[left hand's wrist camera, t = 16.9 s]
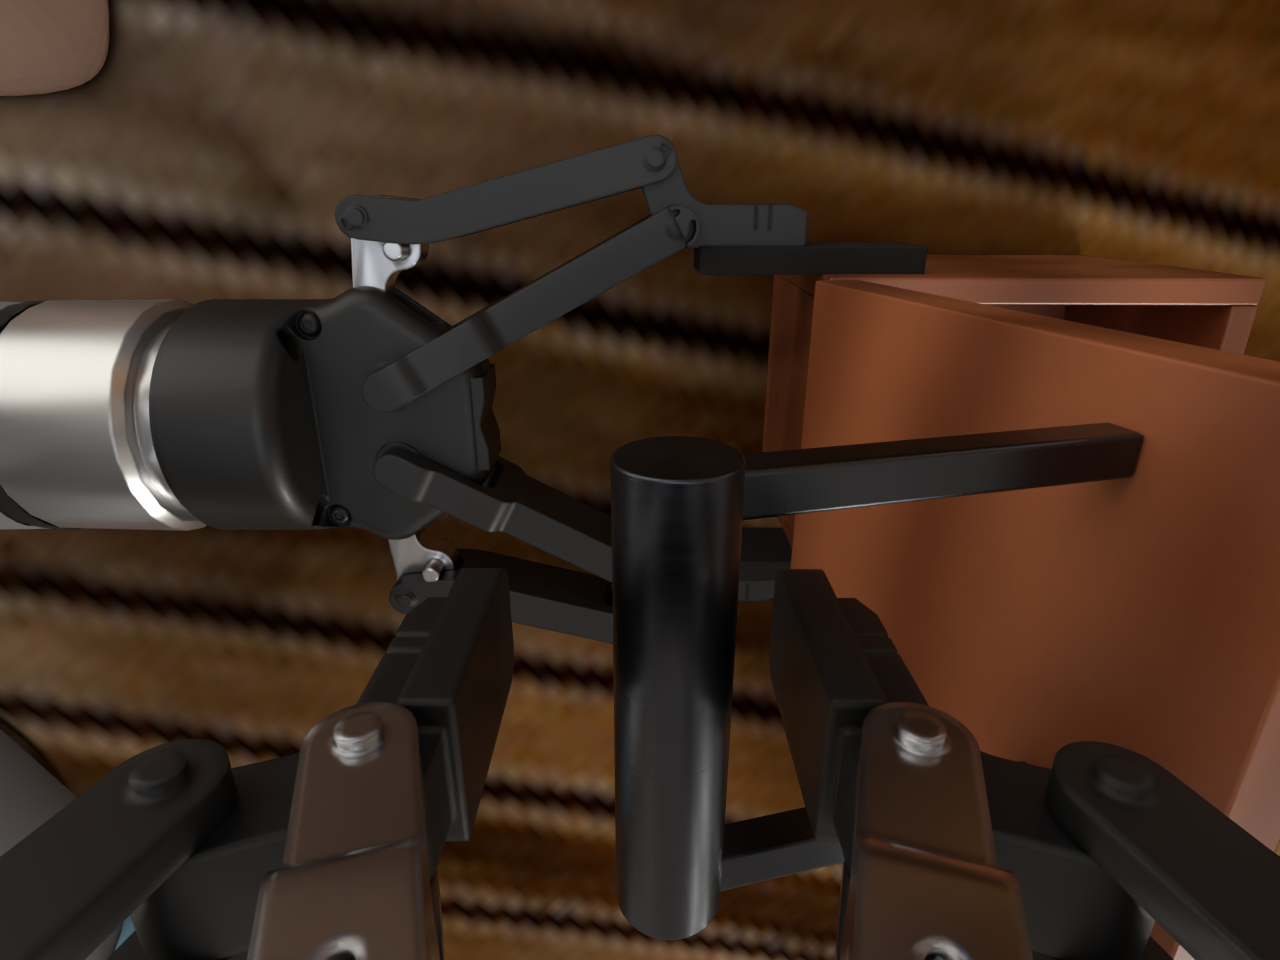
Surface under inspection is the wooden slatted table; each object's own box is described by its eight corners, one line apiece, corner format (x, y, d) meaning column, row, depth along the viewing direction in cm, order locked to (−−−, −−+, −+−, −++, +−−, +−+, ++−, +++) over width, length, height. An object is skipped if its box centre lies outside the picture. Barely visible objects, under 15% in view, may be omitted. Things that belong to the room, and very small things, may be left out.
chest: (1085, 254, 28) (1268, 278, 20) (1036, 477, 32) (1176, 576, 24) (775, 254, 29) (830, 277, 20) (759, 476, 32) (802, 575, 24)
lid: (1472, 398, 8) (689, 468, 6) (1222, 978, 11) (669, 1158, 9) (857, 279, 20) (521, 288, 18) (824, 583, 23) (539, 622, 21)
